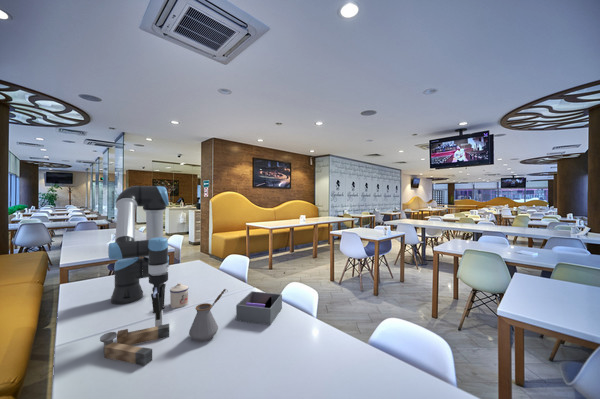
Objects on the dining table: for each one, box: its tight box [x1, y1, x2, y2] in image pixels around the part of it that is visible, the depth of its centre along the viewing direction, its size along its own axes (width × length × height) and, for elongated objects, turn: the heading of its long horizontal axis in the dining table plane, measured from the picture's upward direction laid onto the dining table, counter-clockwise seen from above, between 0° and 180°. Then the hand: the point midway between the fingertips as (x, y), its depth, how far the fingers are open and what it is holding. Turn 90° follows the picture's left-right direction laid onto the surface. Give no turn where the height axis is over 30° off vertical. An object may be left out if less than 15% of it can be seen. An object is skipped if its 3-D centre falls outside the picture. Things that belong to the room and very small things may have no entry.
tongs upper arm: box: [99, 323, 170, 346], centre depth 100 cm, size 23×6×6 cm, turn 116°
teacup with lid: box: [169, 282, 189, 309], centre depth 137 cm, size 12×9×12 cm
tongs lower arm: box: [103, 339, 153, 367], centre depth 92 cm, size 22×5×4 cm, turn 76°
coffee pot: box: [188, 288, 228, 343], centre depth 110 cm, size 21×12×15 cm, turn 161°
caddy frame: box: [235, 290, 283, 326], centre depth 125 cm, size 17×17×8 cm
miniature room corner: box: [246, 297, 272, 308], centre depth 127 cm, size 12×12×7 cm
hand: (159, 325), depth 111 cm, fingers closed
